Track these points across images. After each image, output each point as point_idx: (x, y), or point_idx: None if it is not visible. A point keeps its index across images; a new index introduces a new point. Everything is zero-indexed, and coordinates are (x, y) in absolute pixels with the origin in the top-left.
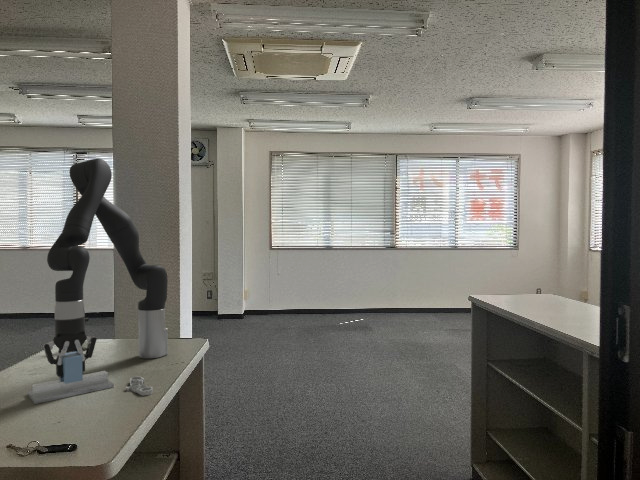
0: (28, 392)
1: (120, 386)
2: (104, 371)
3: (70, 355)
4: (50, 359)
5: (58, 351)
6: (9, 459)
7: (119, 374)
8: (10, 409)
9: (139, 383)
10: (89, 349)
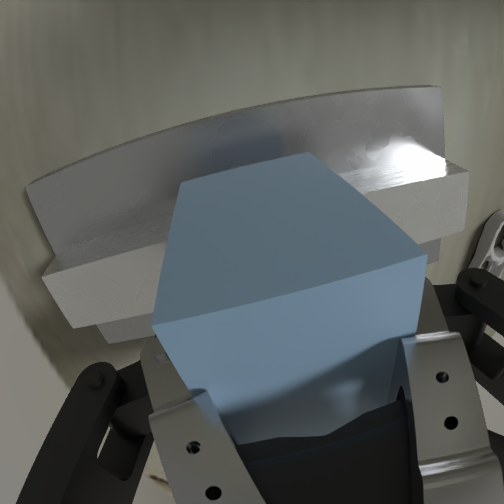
0: (36, 213)
1: (447, 254)
2: (462, 189)
3: (308, 420)
4: (122, 454)
5: (165, 456)
6: (170, 493)
7: (490, 59)
8: (47, 341)
9: (491, 266)
10: (489, 389)
